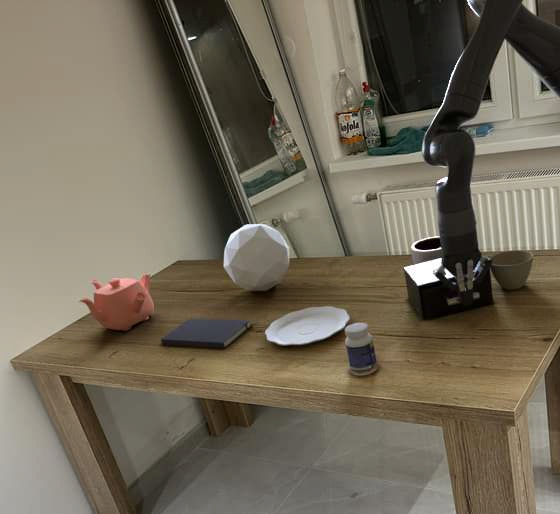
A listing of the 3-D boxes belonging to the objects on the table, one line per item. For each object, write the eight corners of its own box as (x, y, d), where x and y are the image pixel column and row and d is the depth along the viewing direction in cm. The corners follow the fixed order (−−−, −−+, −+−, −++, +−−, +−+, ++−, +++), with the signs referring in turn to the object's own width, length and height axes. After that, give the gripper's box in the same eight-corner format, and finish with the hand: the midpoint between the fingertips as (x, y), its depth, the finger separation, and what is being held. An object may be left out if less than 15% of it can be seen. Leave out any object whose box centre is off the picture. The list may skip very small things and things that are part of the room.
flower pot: (534, 292, 157) (532, 263, 154) (489, 295, 161) (486, 267, 158) (535, 275, 165) (533, 247, 162) (492, 279, 169) (489, 252, 166)
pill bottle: (381, 371, 140) (373, 328, 136) (354, 379, 140) (346, 336, 136) (373, 360, 145) (365, 318, 141) (348, 367, 145) (339, 326, 141)
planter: (408, 286, 177) (403, 251, 173) (425, 270, 184) (421, 236, 180) (448, 287, 171) (443, 251, 166) (464, 270, 178) (460, 235, 174)
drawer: (500, 309, 151) (497, 280, 148) (432, 325, 152) (428, 297, 149) (474, 283, 167) (471, 257, 164) (412, 299, 167) (408, 273, 164)
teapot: (93, 342, 194) (76, 298, 188) (105, 318, 211) (89, 276, 205) (154, 327, 193) (139, 282, 187) (161, 304, 210) (147, 262, 204)
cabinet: (493, 302, 157) (489, 268, 153) (422, 319, 158) (417, 285, 154) (473, 283, 169) (470, 251, 165) (408, 299, 170) (403, 267, 166)
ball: (252, 312, 205) (202, 268, 203) (291, 267, 212) (243, 223, 209) (271, 295, 187) (216, 246, 185) (313, 246, 194) (260, 198, 191)
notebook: (162, 344, 181) (225, 348, 169) (160, 339, 180) (223, 342, 169) (190, 323, 190) (252, 325, 178) (189, 318, 189) (250, 320, 178)
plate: (254, 351, 163) (252, 345, 163) (284, 314, 180) (283, 308, 179) (335, 349, 155) (334, 342, 154) (360, 309, 171) (358, 303, 170)
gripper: (482, 216, 144) (490, 291, 152) (421, 232, 145) (432, 306, 152) (495, 225, 138) (502, 303, 145) (431, 241, 138) (442, 318, 146)
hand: (466, 304), depth 149 cm, fingers closed
